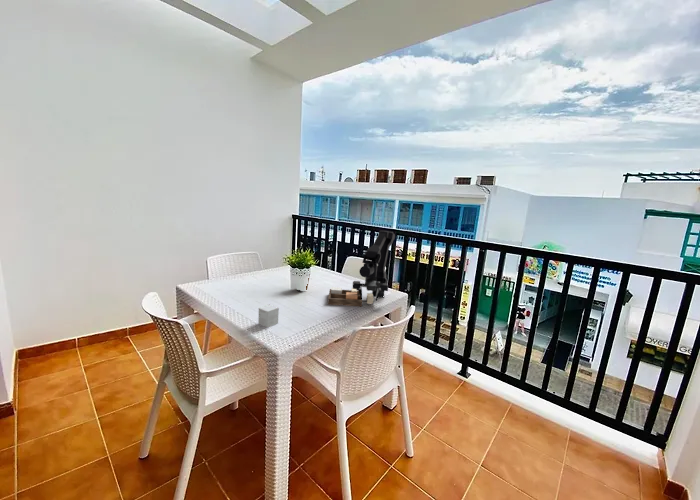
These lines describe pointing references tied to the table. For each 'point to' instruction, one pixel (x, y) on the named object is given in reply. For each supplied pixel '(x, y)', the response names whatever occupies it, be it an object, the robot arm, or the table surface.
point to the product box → (268, 315)
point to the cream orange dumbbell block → (354, 296)
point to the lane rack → (343, 299)
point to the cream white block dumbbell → (340, 290)
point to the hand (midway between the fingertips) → (368, 301)
